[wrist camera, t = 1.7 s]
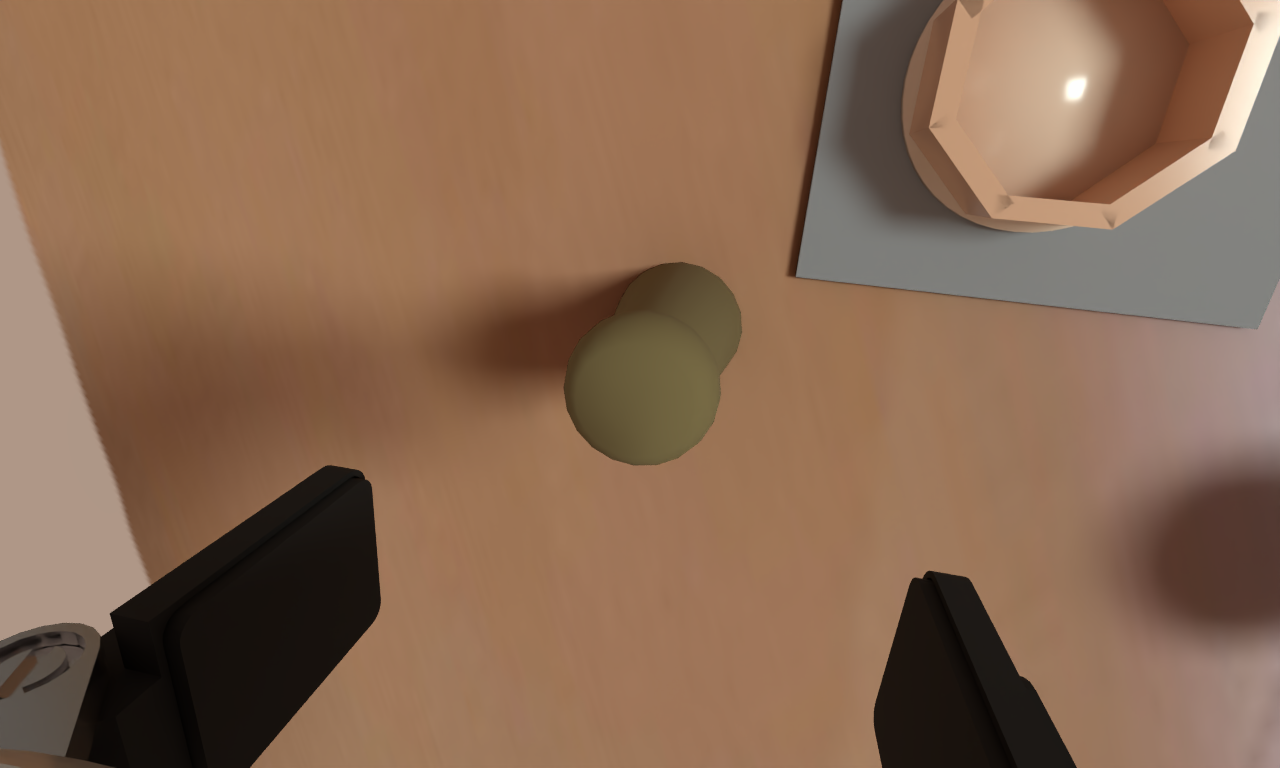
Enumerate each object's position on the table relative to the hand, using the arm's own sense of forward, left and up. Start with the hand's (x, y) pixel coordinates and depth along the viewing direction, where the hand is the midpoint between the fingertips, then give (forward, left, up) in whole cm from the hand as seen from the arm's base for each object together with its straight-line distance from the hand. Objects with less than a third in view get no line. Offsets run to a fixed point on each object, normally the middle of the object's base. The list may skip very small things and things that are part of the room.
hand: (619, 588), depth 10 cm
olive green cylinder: (0, +2, -20) cm, 20 cm away
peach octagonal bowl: (+11, -11, -19) cm, 25 cm away
